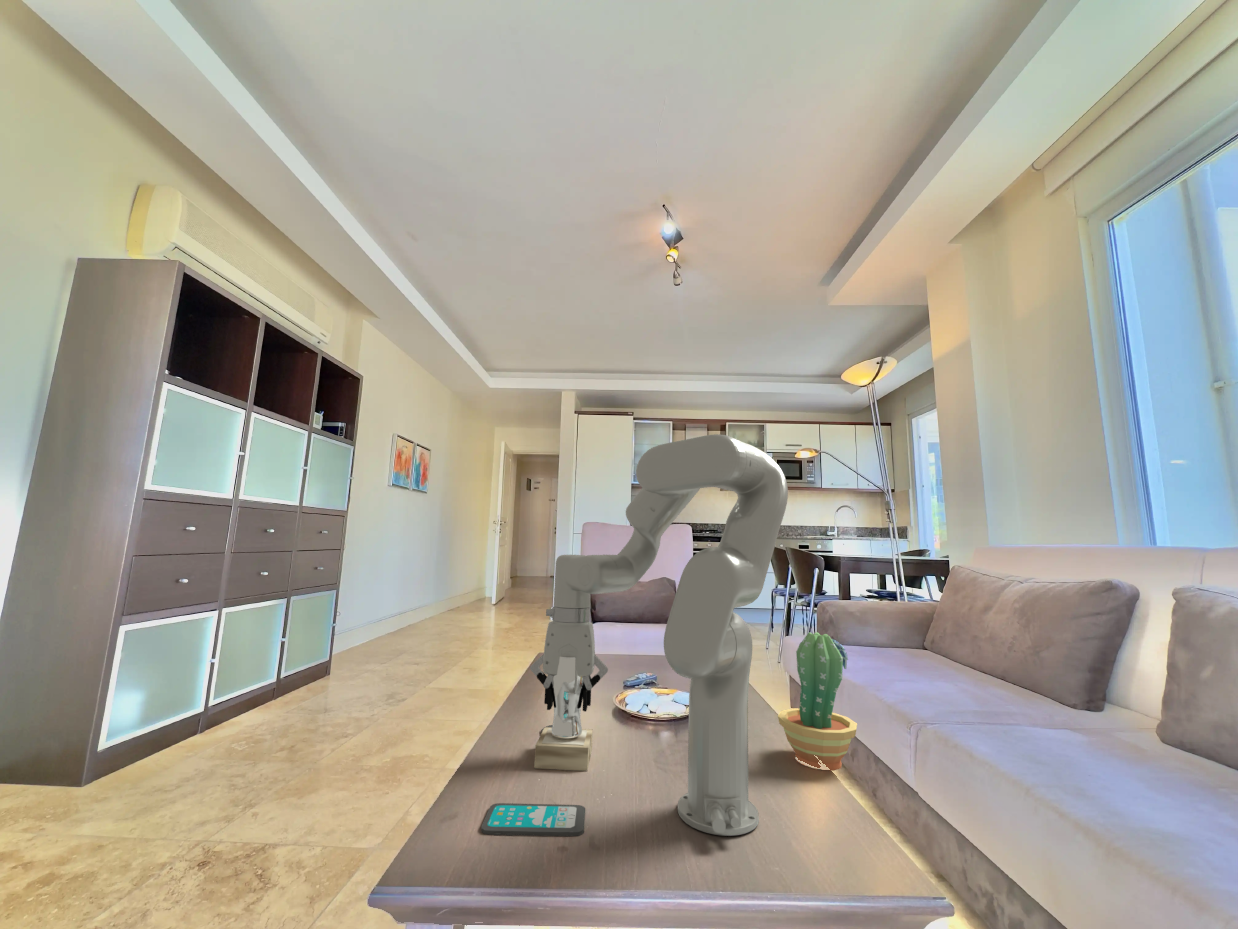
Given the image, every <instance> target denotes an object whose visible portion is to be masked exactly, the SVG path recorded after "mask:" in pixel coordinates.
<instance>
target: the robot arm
mask: <svg viewBox="0 0 1238 929" xmlns="http://www.w3.org/2000/svg"><path fill="white" fill-rule="evenodd" d="M635 471H636V472H635V473H636V474H635V476H636V477H635V478H636V480H637V483H638V484H639V485H640V487H641V489H640V490H639V491H638V493H637V494H636V495H635V496H634V498H632V500H631V502H630V503H629V504H628V505H627V507H626V508H625V509H626V510H625V517H626V519H627V522H629V523H628V524H630V525H631V526H632V528H633V532H632V535H631V537H630V539H628V541H627V543H626V544H625V546H624V547H622V549H621V550H620V551H619V552H618V554H588V555H583V554H561V555H559V556H558V557H557V558H556V559H555V567H554V568H555V569H554V570H555V572H554V574H555V575H554V590H553V591H554V593H553V606H552V607H551V608H550V609H549V608H547V609H546V612H545V613H546V614H545V616H546V617H551V620H552V621H549V622H548V625H547V627H546V628H547V629H546V632H545V633H546V635H545V640H544V649H543V654H542V655H541V656H540V657H539V658H538V659H536V661H534V662H533V663H532V664H531V665H530V667H529V669H530V671H531V672H532V673H533V675H535V676H536V678H537V680H538V681H539V683H540V684H541V685H542V686H543V688H544V702H543V703H544V705H546V710H547V711H550V710H551V709H552V708H553V707H554V705H553V696H552V687H551V682H552V676H555V675H557V671H558V665H559V659H560V657H576V658H575V660H576V668H577V676H579V677H584V684H585V689H584V690H583V700H582V711H583V712H587V710H588V707H591V703H592V689H593V688H594V687H595V686H596V685H597V684H598V683H599V682H600V681H601V679H602V678H603V677H605V675H607V673H608V671H609V667H608V666H606V664H605V663H604V662H603V661H602V660H601V659H600V658H599V657H598V656H597V654H596V649H595V648H596V642H595V629H594V624H593V622H590V620H591V618H590V617H591V594H592V595H598V594H600V595H601V594H609V593H621V592H626V591H628V590H629V589H631V588H633V587H634V586H635V585H636V584H637V583H638V582H640V579H641V578H643V576H644V575H645V574H646V573H647V571H648V570H649V569H650V568H651V567H652V566H653V563H654V562H655V561H656V558H657V555H658V553H659V549H660V546H661V539H662V536H663V535H664V533H665V532H666V531H667V530H668V529H669V527H670V526H671V525H672V524H673V522H674V521H675V520H676V519H677V517H678V516H679V515H680V514H681V513H682V511H683V510H684V509H685V508H686V507H687V506H688V504H689V503H690V502H691V500H692V499H694V497H696V495H697V493H698V492H699V491H700V490H701V489H706V488H707V489H708V488H718V489H722V490H726V491H730V492H734V493H736V494H737V499H736V502H735V504H734V505H733V507H732V509H730V510H731V511H730V512H729V515H728V516H727V518H726V521H725V527H724V530H723V533H722V536H721V540H720V542H719V544H718V546H713V547H707V548H704V549H701V550H699V551H698V552H696V553H695V554H694V555H693V556H692V557H691V558H690V559H689V560H688V561H687V563H686V565H685V566H684V568H683V570H682V573H681V575H680V579H679V581H678V584H677V585H678V586H677V588H676V592H675V595H674V599H673V602H672V605H671V608H670V612H669V615H668V618H667V622H666V626H665V630H664V634H663V635H664V636H663V652H664V656H665V659H666V661H667V664H668V665H669V667H670V668H671V669H672V670H673V671H674V672H675V673H676V674H677V675H679V676H680V677H682V678H685V679H690V684H689V691H688V692H689V693H688V694H689V695H688V743H687V744H688V746H687V749H688V750H687V751H688V758H687V762H688V763H687V793H685V794H683V795H681V797H680V798H679V799H678V801H677V812H678V816H679V817H680V819H681V820H682V821H683V822H684V823H685V824H687V825H688V826H690V827H691V828H693V829H695V830H698V831H700V832H703V833H707V834H710V835H716V836H720V837H721V836H723V837H725V836H726V837H727V836H728V837H731V836H732V837H733V836H734V837H735V836H740V835H745V834H748V833H750V832H752V831H753V830H754V829H756V828H757V826H758V824H759V819H760V818H759V817H760V816H759V814H760V813H759V811H758V809H757V807H756V806H755V804H754V803H753V802H751V801H750V800H749V682H750V673H751V664H752V658H753V637H752V633H751V630H750V627H749V625H748V624H747V623H746V621H745V620H744V619H743V618H742V617H741V615H740V614H738V613H736V612H734V609H735V608H741V607H745V606H748V605H750V604H752V603H754V602H755V601H756V600H757V599H758V598H759V596H760V595H761V593H762V591H763V589H764V585H765V581H766V578H767V574H768V570H769V567H770V564H771V560H772V557H773V554H774V550H775V547H776V542H777V539H778V535H779V531H780V528H781V525H782V522H783V520H784V516H785V513H786V509H787V504H788V498H789V488H788V487H789V486H788V482H787V479H786V475H785V473H784V471H783V470H782V468H781V467H780V465H779V464H778V463H777V462H776V461H775V460H774V459H773V458H772V457H771V456H769V455H768V453H766V452H764V451H763V450H761V449H760V448H757V447H755V446H754V445H753V444H752V445H751V444H749V443H747V442H744V441H741V440H739V439H737V438H735V437H732V436H729V435H726V434H707V435H702V436H696V437H692V438H688V439H687V438H686V439H683V440H676V441H671V442H667V443H666V442H665V443H662V444H659V445H658V444H657V445H655V446H653V447H651V448H650V449H648V450H646V451H645V452H644V453H643V454H642V455H641V457H640V458H639V460H638V462H637V465H636V469H635ZM540 666H542V668H540ZM595 667H596V668H597V669H598V672H597V673H596V674H594V675H593V676H591V675H592V674H593V673H594V669H595ZM541 669H542V670H541Z"/></svg>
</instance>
